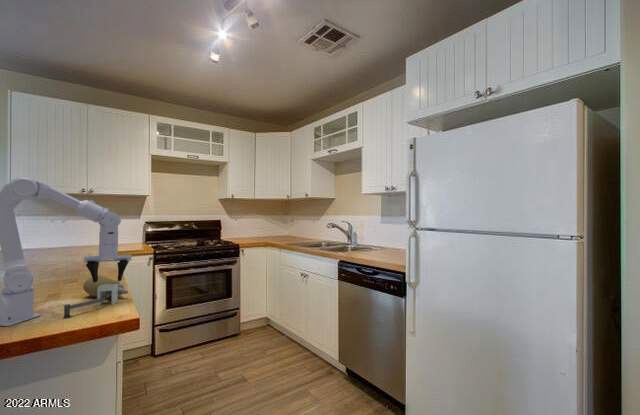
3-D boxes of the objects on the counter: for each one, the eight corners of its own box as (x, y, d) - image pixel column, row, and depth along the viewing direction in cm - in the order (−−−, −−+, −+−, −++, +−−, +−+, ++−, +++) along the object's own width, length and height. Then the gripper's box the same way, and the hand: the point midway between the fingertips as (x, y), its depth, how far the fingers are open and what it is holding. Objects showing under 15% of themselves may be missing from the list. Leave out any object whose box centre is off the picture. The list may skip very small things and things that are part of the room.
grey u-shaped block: (114, 304, 111) (114, 286, 111) (97, 305, 109) (97, 287, 109) (117, 301, 114) (117, 283, 114) (101, 302, 113) (101, 284, 113)
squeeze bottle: (96, 294, 124) (132, 302, 120) (77, 295, 117) (115, 304, 113) (101, 274, 126) (137, 281, 122) (83, 274, 118) (120, 281, 114)
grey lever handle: (73, 319, 95) (74, 306, 95) (57, 317, 96) (57, 305, 96) (124, 300, 115) (124, 290, 115) (110, 299, 116) (110, 289, 116)
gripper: (134, 242, 118) (133, 277, 118) (89, 243, 113) (88, 279, 113) (128, 244, 111) (128, 281, 111) (81, 245, 107) (80, 284, 107)
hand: (107, 281), depth 112 cm, fingers open, 7 cm apart
